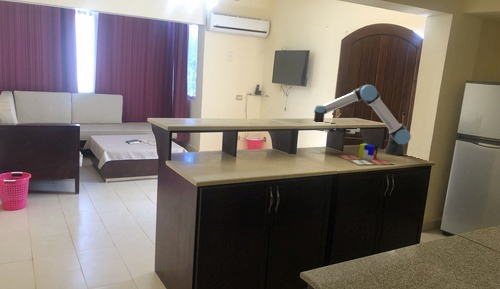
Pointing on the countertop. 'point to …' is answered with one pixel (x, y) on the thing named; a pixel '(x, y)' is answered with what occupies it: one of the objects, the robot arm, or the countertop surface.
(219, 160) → the countertop surface
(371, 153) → the puzzle toy
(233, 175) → the countertop surface
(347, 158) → the board
